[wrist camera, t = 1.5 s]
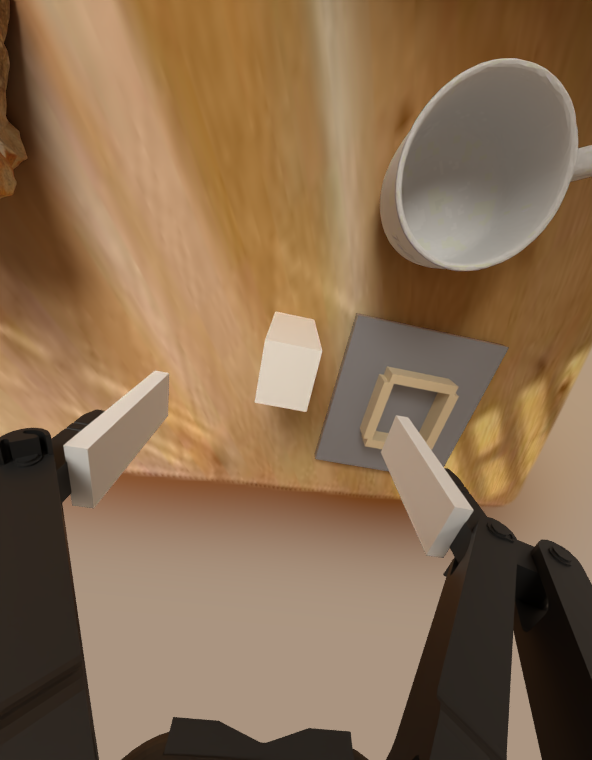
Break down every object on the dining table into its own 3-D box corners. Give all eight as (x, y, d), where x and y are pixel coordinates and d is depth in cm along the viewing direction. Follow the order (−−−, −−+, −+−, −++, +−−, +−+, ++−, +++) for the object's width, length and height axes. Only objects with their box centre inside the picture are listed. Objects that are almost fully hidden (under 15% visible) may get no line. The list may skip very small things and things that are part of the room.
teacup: (360, 264, 26) (384, 268, 19) (378, 114, 22) (419, 44, 15) (506, 269, 27) (586, 276, 19) (554, 122, 22) (681, 58, 15)
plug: (275, 311, 28) (265, 339, 19) (314, 319, 29) (322, 350, 19) (267, 357, 30) (254, 402, 21) (303, 364, 31) (306, 411, 21)
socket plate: (356, 313, 28) (362, 319, 26) (502, 344, 30) (523, 354, 27) (314, 453, 36) (316, 470, 33) (433, 473, 37) (444, 491, 34)
